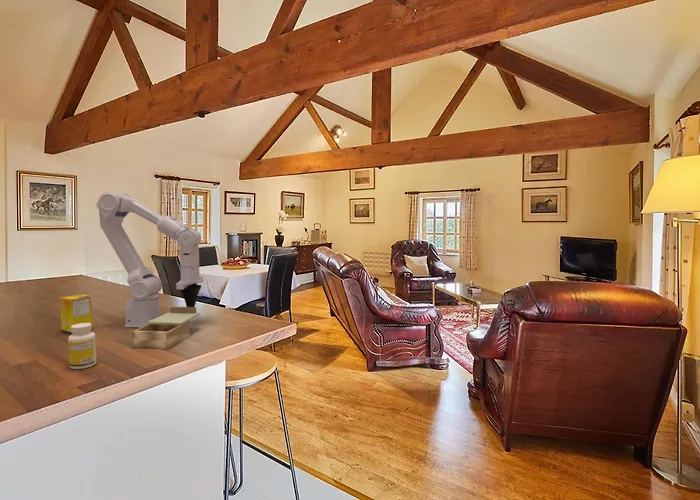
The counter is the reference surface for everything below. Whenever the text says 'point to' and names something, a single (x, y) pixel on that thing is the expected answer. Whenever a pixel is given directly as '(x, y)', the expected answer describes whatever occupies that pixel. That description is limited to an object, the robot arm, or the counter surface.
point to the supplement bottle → (82, 346)
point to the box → (160, 335)
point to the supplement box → (75, 311)
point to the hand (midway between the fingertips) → (190, 307)
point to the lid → (176, 316)
